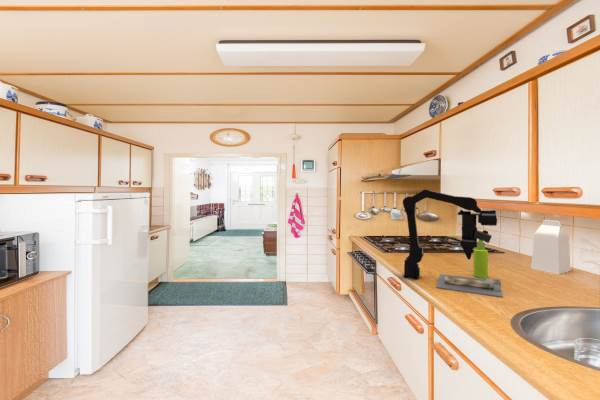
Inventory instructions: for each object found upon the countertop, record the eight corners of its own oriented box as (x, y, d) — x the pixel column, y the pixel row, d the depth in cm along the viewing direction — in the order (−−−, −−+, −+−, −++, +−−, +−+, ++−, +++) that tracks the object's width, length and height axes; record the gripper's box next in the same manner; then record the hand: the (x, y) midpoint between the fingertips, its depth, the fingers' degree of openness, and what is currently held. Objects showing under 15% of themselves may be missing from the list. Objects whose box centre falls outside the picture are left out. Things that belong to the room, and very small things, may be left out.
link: (444, 283, 130) (444, 277, 129) (444, 281, 134) (444, 274, 133) (490, 289, 122) (490, 282, 122) (488, 286, 126) (488, 279, 126)
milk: (531, 268, 154) (531, 220, 153) (543, 265, 159) (543, 218, 158) (558, 274, 144) (559, 222, 143) (570, 271, 148) (571, 220, 147)
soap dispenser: (487, 279, 137) (488, 237, 136) (471, 276, 142) (472, 235, 141) (491, 276, 141) (492, 235, 140) (475, 273, 146) (476, 234, 145)
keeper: (481, 290, 122) (481, 280, 122) (480, 286, 127) (481, 277, 127) (500, 293, 119) (500, 282, 119) (499, 289, 124) (499, 279, 123)
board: (436, 288, 126) (436, 286, 126) (440, 274, 145) (440, 273, 145) (503, 297, 114) (503, 296, 114) (497, 281, 133) (497, 280, 133)
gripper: (491, 228, 119) (490, 266, 119) (489, 223, 134) (489, 256, 135) (460, 227, 124) (460, 263, 125) (462, 222, 140) (462, 254, 141)
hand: (468, 259), depth 131 cm, fingers closed
